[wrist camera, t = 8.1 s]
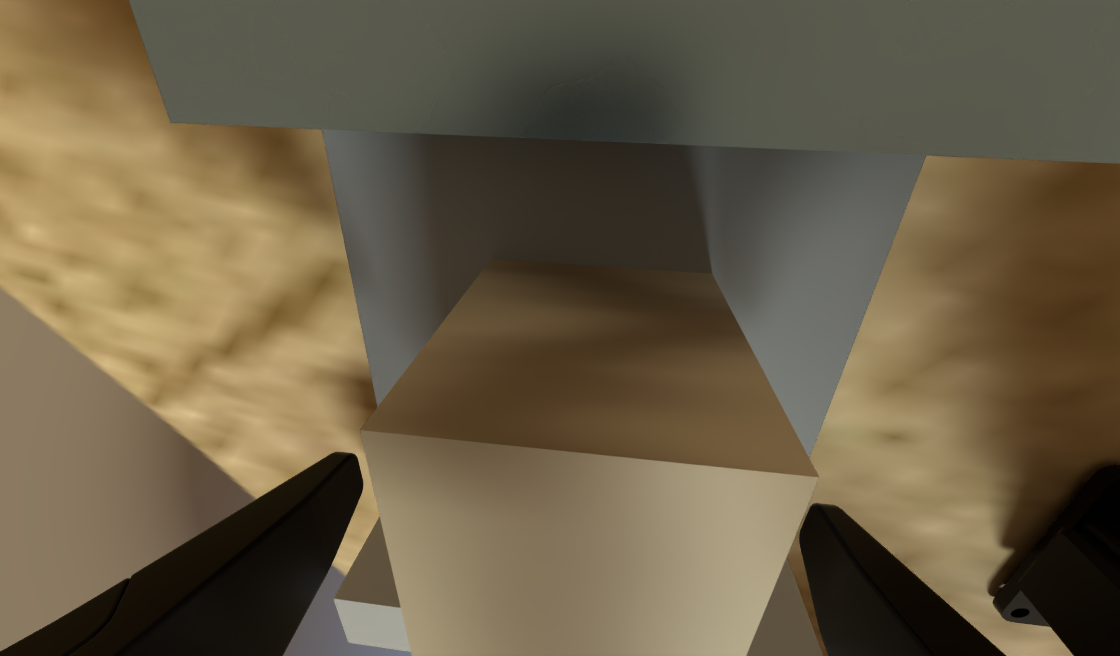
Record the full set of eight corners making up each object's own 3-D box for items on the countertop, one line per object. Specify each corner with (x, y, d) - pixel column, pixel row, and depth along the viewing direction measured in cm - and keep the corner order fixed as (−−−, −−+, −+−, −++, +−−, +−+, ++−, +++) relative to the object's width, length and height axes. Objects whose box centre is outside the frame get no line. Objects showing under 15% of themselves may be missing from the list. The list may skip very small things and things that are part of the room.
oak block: (711, 273, 10) (819, 477, 5) (667, 496, 13) (700, 765, 8) (491, 258, 10) (360, 430, 5) (501, 478, 14) (427, 722, 8)
